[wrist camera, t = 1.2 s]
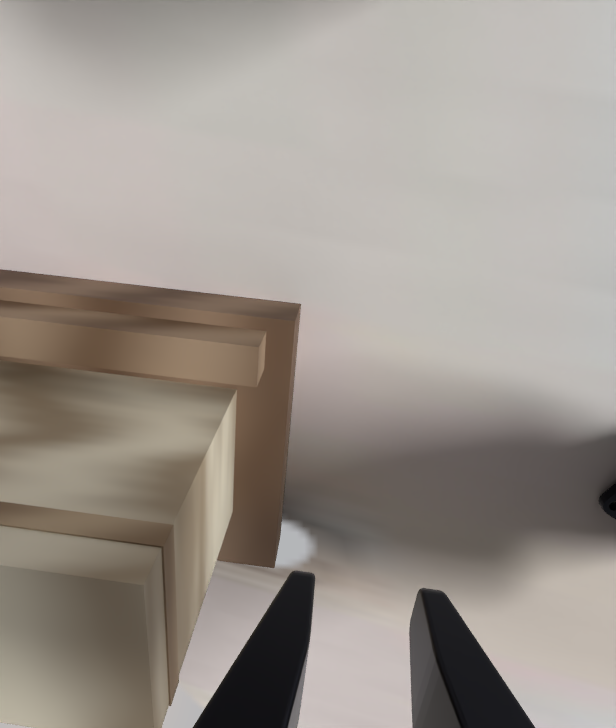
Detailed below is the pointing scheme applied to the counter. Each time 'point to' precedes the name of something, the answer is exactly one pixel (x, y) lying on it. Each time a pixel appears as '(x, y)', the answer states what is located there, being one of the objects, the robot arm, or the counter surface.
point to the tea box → (105, 539)
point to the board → (176, 369)
